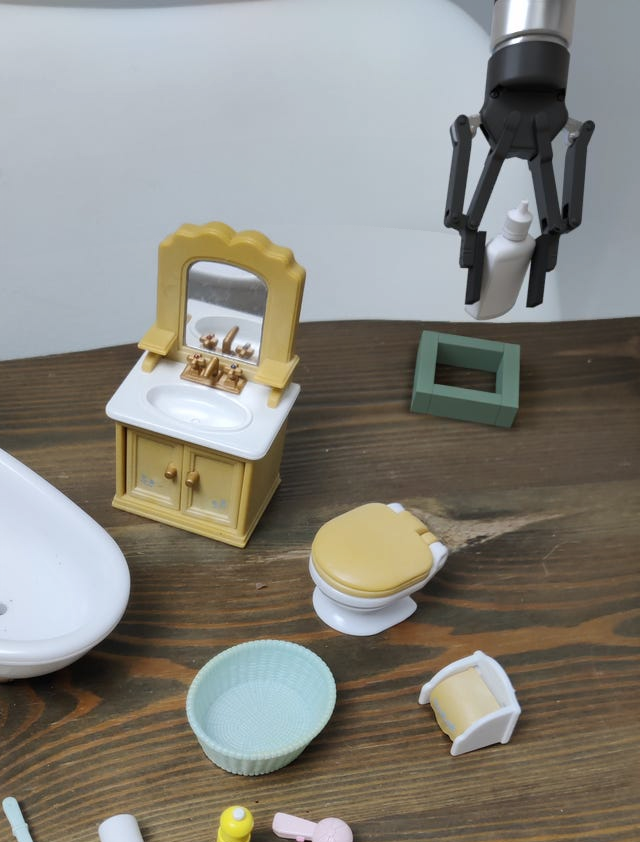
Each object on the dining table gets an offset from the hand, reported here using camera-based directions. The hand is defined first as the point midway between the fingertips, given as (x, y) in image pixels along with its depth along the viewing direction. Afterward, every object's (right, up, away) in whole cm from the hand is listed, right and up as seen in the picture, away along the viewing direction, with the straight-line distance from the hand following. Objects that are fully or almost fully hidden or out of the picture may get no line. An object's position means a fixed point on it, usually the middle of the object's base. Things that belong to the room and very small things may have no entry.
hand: (503, 303), depth 98 cm
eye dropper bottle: (0, +1, +5) cm, 5 cm away
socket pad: (0, -5, +14) cm, 15 cm away
